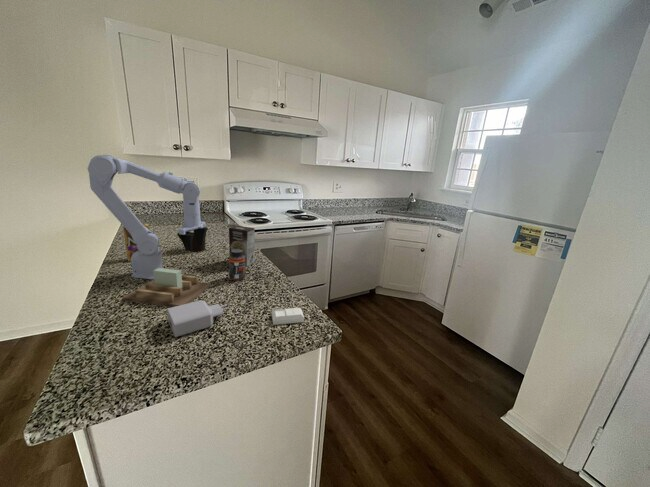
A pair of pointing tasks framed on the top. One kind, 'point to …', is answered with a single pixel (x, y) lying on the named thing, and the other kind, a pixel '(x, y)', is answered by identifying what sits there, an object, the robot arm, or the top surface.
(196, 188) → the robot arm
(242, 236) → the coffee box
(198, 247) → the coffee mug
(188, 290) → the dish rack
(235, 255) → the supplement bottle
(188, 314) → the grey bottle
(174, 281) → the pale green block
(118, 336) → the top surface
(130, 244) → the candy box
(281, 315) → the soap bar
